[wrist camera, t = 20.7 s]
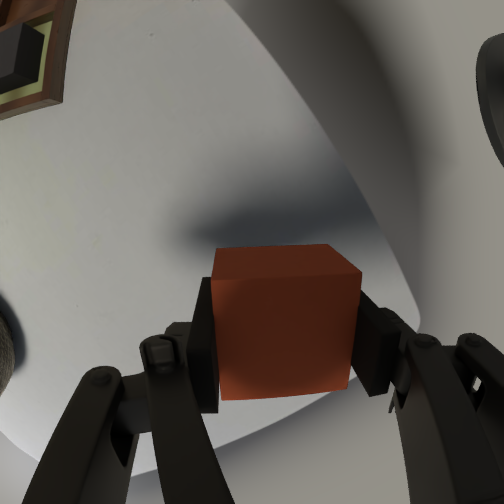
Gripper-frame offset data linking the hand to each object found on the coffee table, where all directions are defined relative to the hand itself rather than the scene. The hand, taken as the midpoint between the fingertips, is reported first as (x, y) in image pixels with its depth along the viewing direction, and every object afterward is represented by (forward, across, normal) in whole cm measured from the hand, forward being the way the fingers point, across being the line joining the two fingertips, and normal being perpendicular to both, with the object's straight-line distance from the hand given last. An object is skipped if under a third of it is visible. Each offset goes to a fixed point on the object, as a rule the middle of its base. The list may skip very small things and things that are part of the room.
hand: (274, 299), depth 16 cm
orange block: (0, 0, 0) cm, 0 cm away
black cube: (+12, -24, +20) cm, 33 cm away
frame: (+13, -23, +25) cm, 37 cm away
